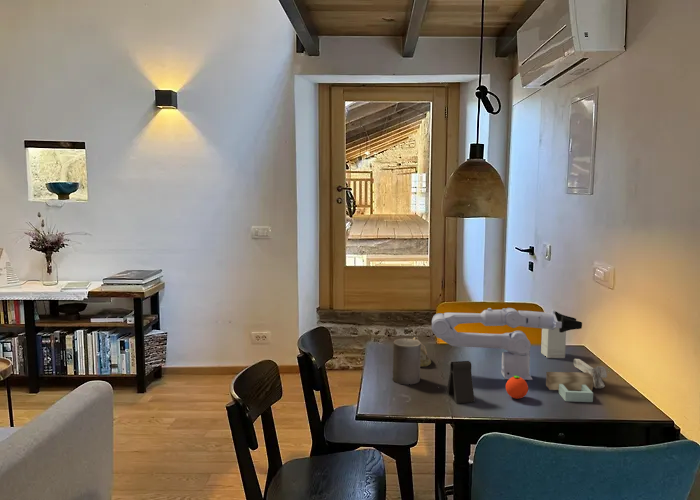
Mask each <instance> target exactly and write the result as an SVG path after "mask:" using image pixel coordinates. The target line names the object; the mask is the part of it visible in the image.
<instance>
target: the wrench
mask: <svg viewBox="0 0 700 500" xmlns="http://www.w3.org/2000/svg"><path fill="white" fill-rule="evenodd" d="M573 366H574V367H575V368H577V369H578V370H580V372H583V373H589V374H591V375H592V376H593V384H594V385H593V386H594V388H595V389H603V388H604V387H605V383H604V382H603V378H604V379H605V378H608V375H607V370H606V368H605V367H604V366H601V365H598V366H596V367H593V366H591V365H589V364H588V363H586V362H585V361H583V360H582V359H580V358H574V359H573Z"/></svg>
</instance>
